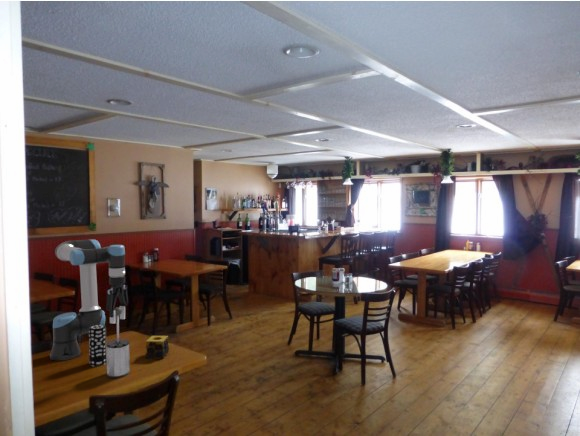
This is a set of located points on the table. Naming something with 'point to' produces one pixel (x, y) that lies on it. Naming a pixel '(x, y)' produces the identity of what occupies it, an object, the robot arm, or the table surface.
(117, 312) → the grey ball-topped rod
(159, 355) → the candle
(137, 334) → the table surface
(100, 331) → the spotted tube
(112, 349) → the grey cylinder
